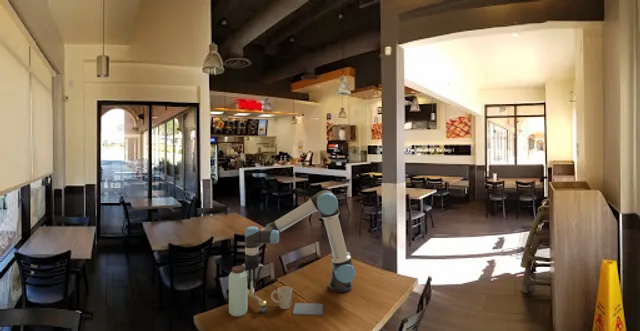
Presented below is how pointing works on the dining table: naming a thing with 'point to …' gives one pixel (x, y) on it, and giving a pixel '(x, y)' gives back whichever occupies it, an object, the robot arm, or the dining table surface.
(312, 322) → the dining table surface
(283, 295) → the mug
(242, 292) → the water bottle
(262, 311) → the lever post
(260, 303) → the lever
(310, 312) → the mat
